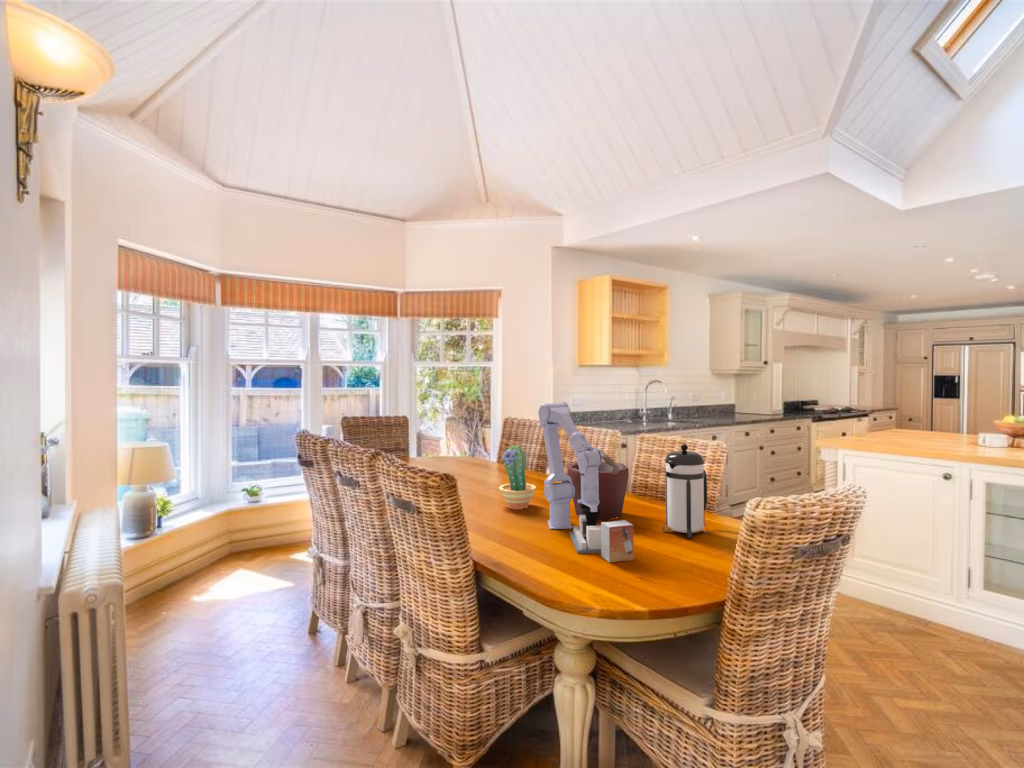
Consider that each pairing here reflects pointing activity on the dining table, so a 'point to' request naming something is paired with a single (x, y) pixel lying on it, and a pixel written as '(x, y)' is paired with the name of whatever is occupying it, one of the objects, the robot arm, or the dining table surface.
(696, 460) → the coffee press
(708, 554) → the dining table surface
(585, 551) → the rail plate
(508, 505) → the potted cactus
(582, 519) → the block
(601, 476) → the bucket
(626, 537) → the small box
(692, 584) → the dining table surface
